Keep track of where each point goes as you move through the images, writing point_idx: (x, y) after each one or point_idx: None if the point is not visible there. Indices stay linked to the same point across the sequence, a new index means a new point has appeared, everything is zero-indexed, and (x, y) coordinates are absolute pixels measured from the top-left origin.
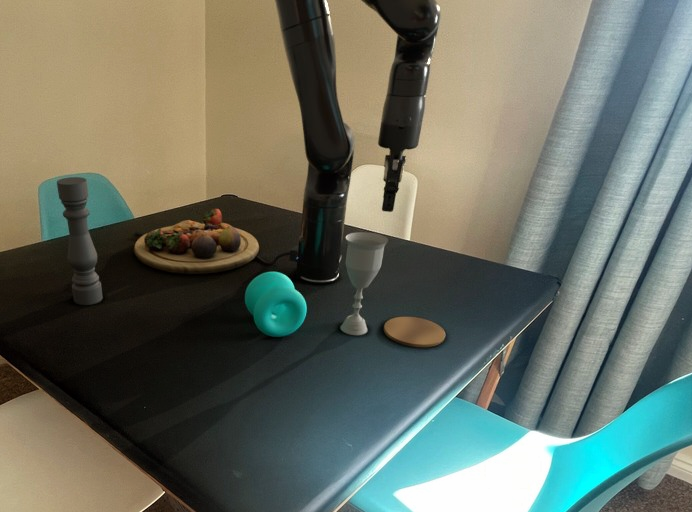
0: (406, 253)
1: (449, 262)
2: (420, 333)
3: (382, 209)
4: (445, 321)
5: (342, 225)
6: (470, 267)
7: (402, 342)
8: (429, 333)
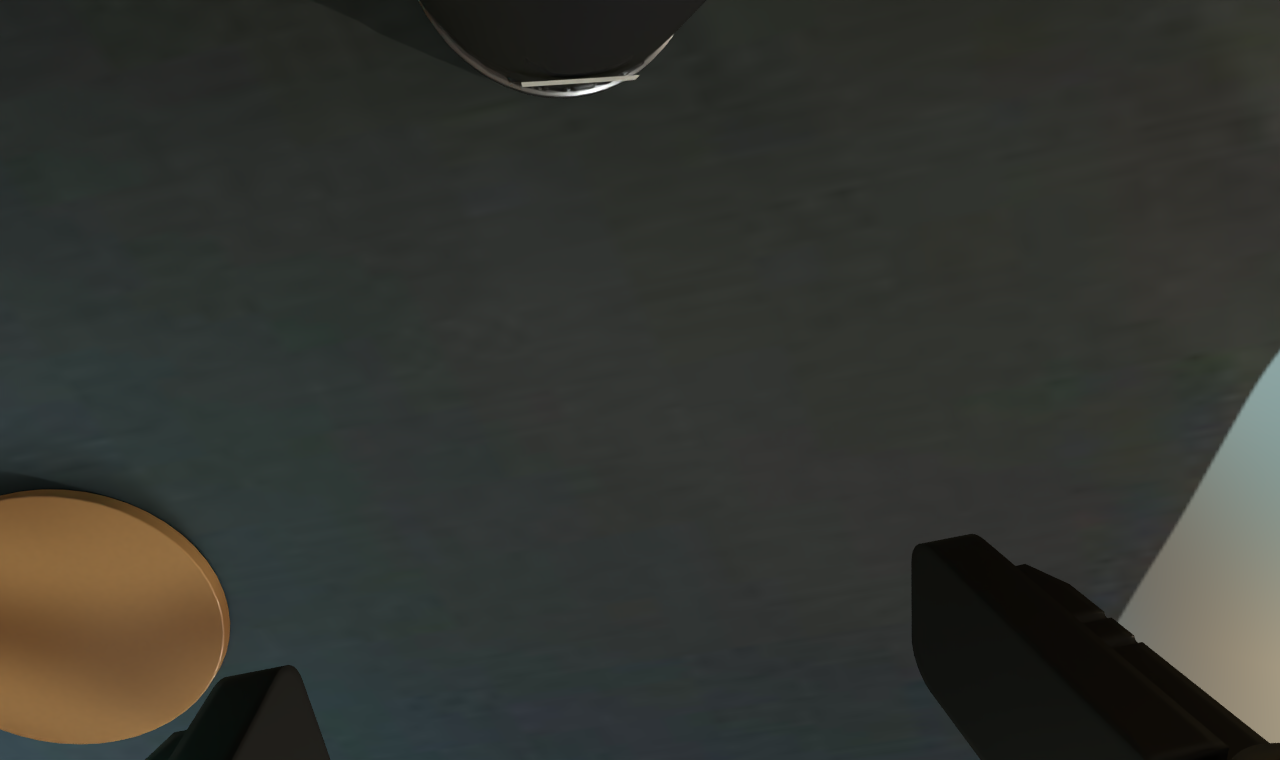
0: (1093, 407)
1: None
2: (45, 656)
3: (218, 689)
4: None
5: (522, 7)
6: None
7: None
8: (72, 688)
